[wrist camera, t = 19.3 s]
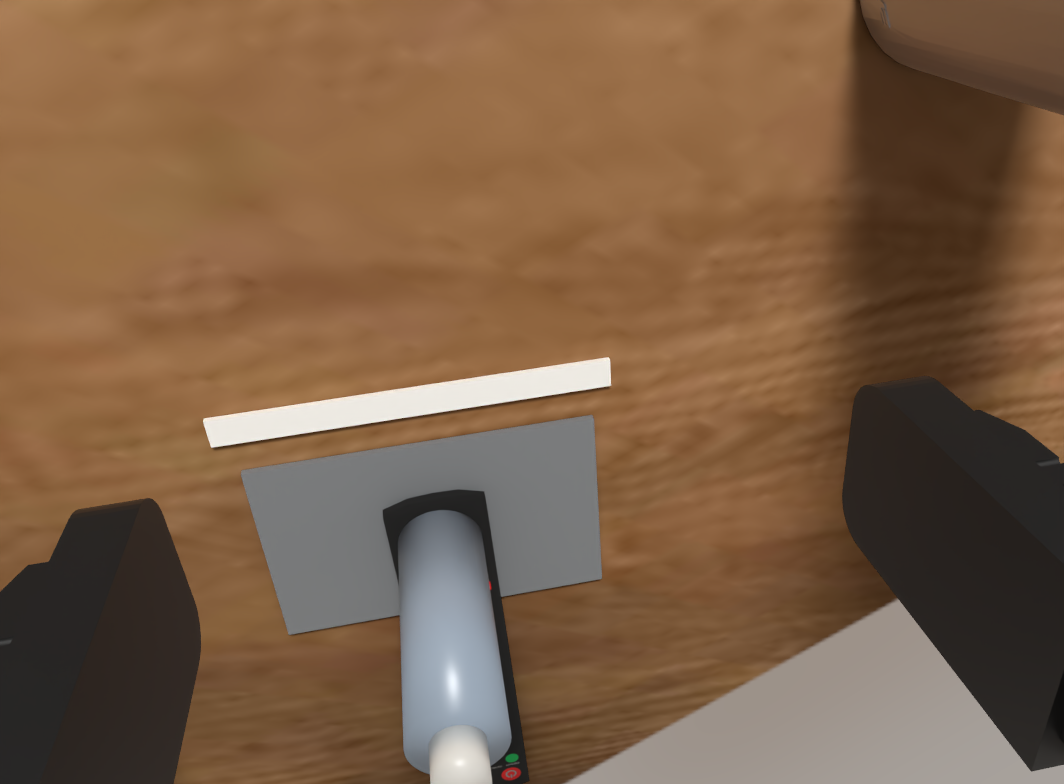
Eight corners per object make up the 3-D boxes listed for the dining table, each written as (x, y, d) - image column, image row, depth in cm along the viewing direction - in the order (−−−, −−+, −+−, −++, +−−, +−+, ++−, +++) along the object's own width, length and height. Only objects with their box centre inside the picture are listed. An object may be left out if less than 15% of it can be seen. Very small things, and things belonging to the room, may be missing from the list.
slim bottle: (482, 507, 45) (518, 747, 33) (482, 569, 47) (517, 814, 36) (395, 513, 44) (401, 761, 33) (400, 576, 46) (408, 828, 35)
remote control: (482, 483, 46) (485, 499, 45) (526, 768, 59) (530, 785, 57) (382, 502, 45) (383, 518, 44) (448, 784, 58) (450, 803, 57)
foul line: (608, 357, 44) (609, 359, 44) (609, 383, 45) (611, 385, 45) (204, 418, 42) (202, 421, 42) (212, 444, 43) (211, 447, 43)
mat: (592, 414, 46) (593, 418, 45) (600, 574, 51) (601, 578, 51) (241, 470, 44) (240, 474, 43) (289, 629, 49) (288, 635, 49)
